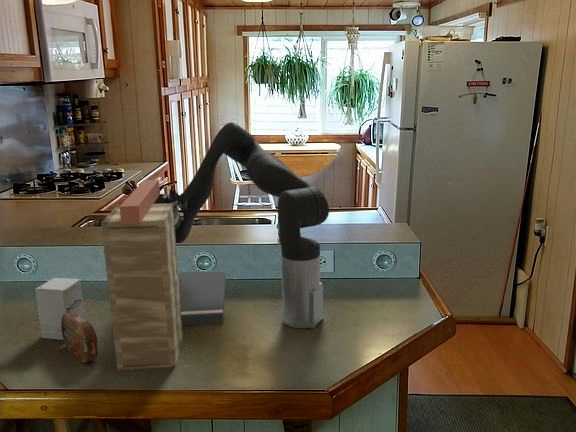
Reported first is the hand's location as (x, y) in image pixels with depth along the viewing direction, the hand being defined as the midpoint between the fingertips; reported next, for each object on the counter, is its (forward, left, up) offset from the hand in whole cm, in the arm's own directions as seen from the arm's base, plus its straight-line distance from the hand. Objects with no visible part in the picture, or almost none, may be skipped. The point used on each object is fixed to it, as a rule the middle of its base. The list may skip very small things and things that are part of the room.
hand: (153, 193), depth 125 cm
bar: (-7, +12, 0) cm, 14 cm away
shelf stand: (-9, +15, -32) cm, 37 cm away
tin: (+5, +22, -32) cm, 40 cm away
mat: (-1, -11, -32) cm, 34 cm away
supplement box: (+17, +16, -32) cm, 40 cm away
